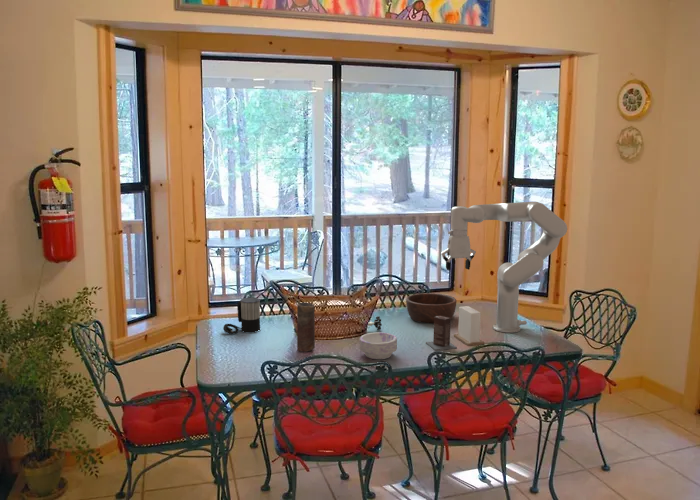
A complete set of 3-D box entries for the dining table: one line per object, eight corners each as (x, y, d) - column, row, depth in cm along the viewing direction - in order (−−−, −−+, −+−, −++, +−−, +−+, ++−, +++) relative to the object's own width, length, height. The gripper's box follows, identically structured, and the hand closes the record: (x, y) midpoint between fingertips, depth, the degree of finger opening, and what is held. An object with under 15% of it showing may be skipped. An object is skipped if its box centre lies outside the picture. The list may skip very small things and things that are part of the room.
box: (450, 344, 258) (451, 317, 256) (444, 347, 254) (444, 319, 252) (438, 341, 262) (439, 315, 260) (432, 344, 258) (433, 317, 257)
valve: (357, 334, 276) (381, 331, 279) (357, 320, 275) (381, 318, 278) (352, 330, 282) (377, 327, 285) (352, 316, 281) (377, 314, 284)
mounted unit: (469, 335, 273) (470, 305, 271) (484, 344, 260) (485, 313, 258) (453, 336, 271) (454, 306, 269) (467, 345, 258) (468, 314, 256)
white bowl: (352, 356, 245) (352, 337, 243) (375, 347, 256) (375, 329, 255) (381, 365, 235) (381, 345, 233) (404, 355, 246) (404, 336, 245)
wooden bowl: (404, 311, 314) (404, 292, 313) (452, 312, 313) (453, 293, 312) (407, 325, 289) (407, 304, 288) (459, 325, 288) (459, 305, 287)
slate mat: (446, 341, 264) (446, 340, 264) (456, 348, 254) (456, 347, 254) (425, 343, 261) (425, 342, 261) (434, 350, 252) (434, 349, 252)
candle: (306, 346, 258) (305, 300, 255) (318, 349, 253) (318, 303, 250) (293, 350, 252) (292, 304, 249) (306, 354, 247) (305, 307, 244)
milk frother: (265, 329, 283) (264, 298, 281) (244, 338, 269) (243, 306, 267) (241, 325, 290) (240, 295, 287) (219, 333, 276) (218, 302, 274)
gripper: (445, 234, 271) (444, 272, 274) (479, 233, 276) (478, 270, 279) (438, 232, 279) (437, 269, 281) (472, 231, 283) (471, 267, 286)
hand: (457, 269), depth 280 cm, fingers open, 9 cm apart
